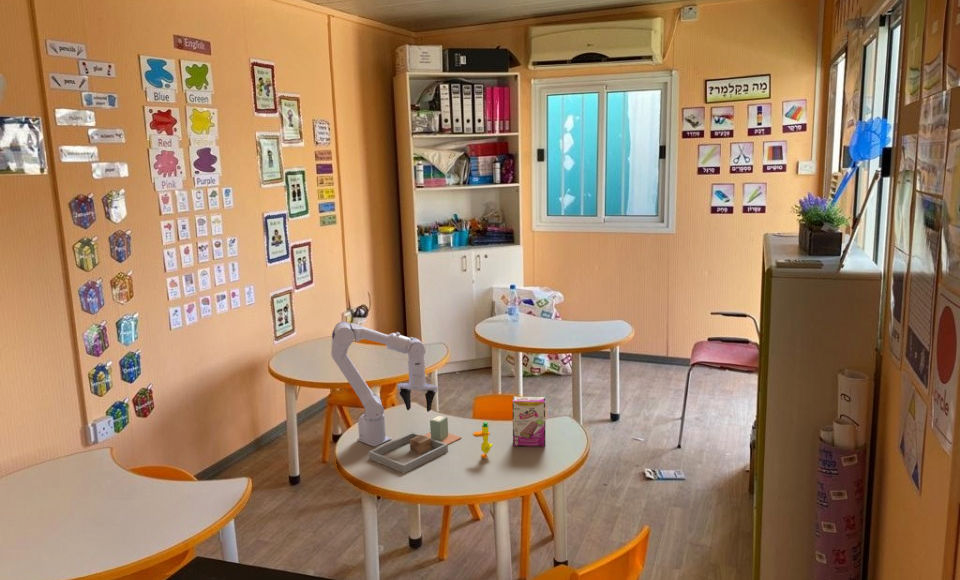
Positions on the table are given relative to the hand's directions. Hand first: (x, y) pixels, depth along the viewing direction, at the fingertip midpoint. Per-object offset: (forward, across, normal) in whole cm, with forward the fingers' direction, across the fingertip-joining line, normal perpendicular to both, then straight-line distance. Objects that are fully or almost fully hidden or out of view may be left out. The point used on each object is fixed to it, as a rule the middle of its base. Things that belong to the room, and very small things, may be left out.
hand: (418, 409), depth 245 cm
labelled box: (+9, +8, -2) cm, 12 cm away
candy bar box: (+10, +40, 0) cm, 41 cm away
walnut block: (+10, +4, -12) cm, 16 cm away
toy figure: (+10, +27, -13) cm, 31 cm away
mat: (+9, +8, -2) cm, 13 cm away
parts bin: (+9, +2, -16) cm, 19 cm away
